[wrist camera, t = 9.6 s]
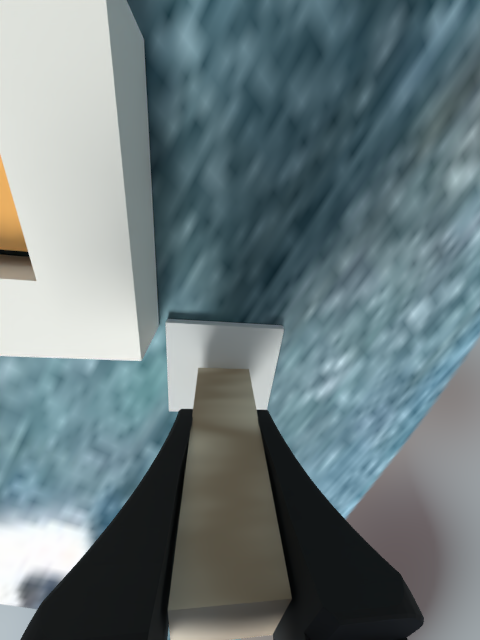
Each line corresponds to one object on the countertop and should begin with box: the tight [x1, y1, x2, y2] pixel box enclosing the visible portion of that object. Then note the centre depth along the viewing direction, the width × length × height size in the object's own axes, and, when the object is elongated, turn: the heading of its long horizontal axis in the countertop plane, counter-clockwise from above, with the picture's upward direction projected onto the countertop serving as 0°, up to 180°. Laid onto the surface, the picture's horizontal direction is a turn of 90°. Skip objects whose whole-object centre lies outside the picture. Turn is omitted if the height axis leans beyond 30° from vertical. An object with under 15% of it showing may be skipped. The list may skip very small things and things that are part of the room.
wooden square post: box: [168, 368, 292, 640], centre depth 10 cm, size 3×3×9 cm
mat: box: [166, 319, 284, 411], centre depth 15 cm, size 7×7×1 cm
